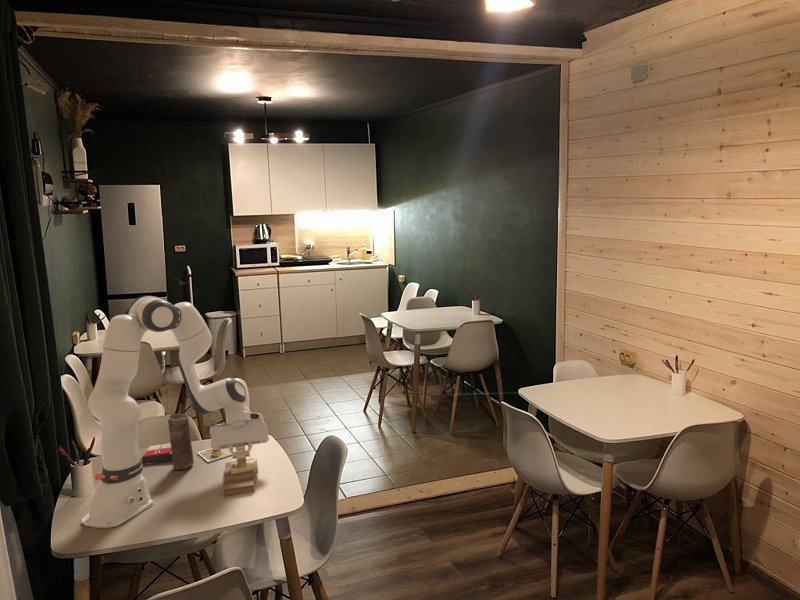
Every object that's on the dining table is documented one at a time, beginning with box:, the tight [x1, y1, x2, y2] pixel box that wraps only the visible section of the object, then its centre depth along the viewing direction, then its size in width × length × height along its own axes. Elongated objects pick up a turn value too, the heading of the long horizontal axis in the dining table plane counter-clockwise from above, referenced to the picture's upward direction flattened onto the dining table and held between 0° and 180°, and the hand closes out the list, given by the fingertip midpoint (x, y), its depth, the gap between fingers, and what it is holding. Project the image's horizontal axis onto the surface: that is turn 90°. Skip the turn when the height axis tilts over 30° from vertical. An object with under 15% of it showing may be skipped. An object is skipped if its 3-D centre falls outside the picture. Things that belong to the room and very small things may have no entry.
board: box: [222, 458, 256, 497], centre depth 223 cm, size 22×10×2 cm, turn 13°
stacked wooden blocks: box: [231, 443, 259, 475], centre depth 225 cm, size 6×9×10 cm, turn 104°
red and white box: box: [141, 442, 173, 465], centre depth 246 cm, size 11×4×15 cm
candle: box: [167, 413, 195, 471], centre depth 235 cm, size 8×7×20 cm
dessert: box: [196, 447, 236, 463], centre depth 246 cm, size 12×12×5 cm
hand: (241, 457), depth 223 cm, fingers closed on stacked wooden blocks, 3 cm apart
